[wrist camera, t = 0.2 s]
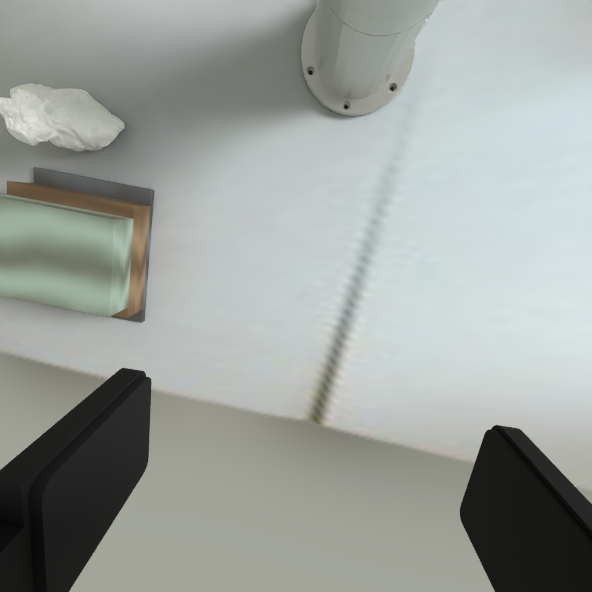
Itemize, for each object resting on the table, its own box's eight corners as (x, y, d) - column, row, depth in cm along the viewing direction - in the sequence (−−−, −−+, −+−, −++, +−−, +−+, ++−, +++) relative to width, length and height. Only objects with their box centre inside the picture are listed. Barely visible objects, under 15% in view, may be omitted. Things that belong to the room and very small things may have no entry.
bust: (52, 112, 44) (-20, 155, 37) (32, 46, 38) (-60, 82, 31) (141, 148, 44) (86, 197, 37) (134, 88, 38) (67, 133, 31)
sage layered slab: (39, 167, 43) (-28, 157, 35) (154, 190, 43) (115, 185, 35) (40, 300, 48) (-19, 320, 39) (144, 320, 48) (108, 344, 39)
